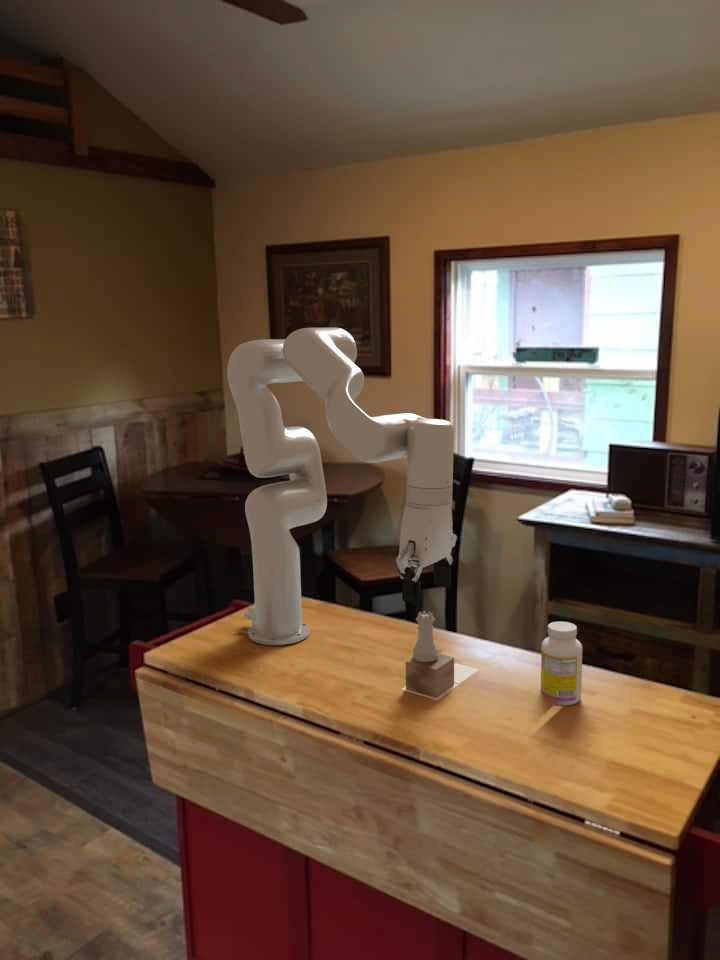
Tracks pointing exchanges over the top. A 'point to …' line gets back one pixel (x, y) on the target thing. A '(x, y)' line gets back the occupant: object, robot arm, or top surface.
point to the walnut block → (430, 675)
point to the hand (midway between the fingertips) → (426, 593)
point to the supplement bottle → (561, 664)
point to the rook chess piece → (425, 639)
